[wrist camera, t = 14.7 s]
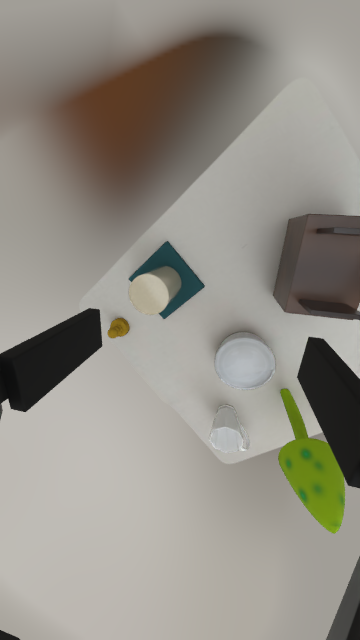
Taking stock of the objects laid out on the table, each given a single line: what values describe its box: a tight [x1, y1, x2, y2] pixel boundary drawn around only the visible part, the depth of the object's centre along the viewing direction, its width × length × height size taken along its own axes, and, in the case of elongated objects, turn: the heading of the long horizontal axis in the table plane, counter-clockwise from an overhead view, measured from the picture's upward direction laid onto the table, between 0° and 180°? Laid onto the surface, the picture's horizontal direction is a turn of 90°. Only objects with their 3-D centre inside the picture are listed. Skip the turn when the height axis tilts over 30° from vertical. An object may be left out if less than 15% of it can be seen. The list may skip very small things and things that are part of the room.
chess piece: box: [108, 318, 129, 338], centre depth 49 cm, size 4×4×5 cm
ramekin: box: [215, 332, 276, 390], centre depth 45 cm, size 11×11×5 cm
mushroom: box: [278, 389, 345, 533], centre depth 37 cm, size 8×8×25 cm
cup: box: [209, 404, 250, 453], centre depth 50 cm, size 7×10×8 cm
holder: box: [273, 214, 360, 320], centre depth 32 cm, size 13×9×15 cm
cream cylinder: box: [129, 266, 181, 315], centre depth 40 cm, size 7×7×10 cm
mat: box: [129, 241, 204, 319], centre depth 45 cm, size 11×11×1 cm
